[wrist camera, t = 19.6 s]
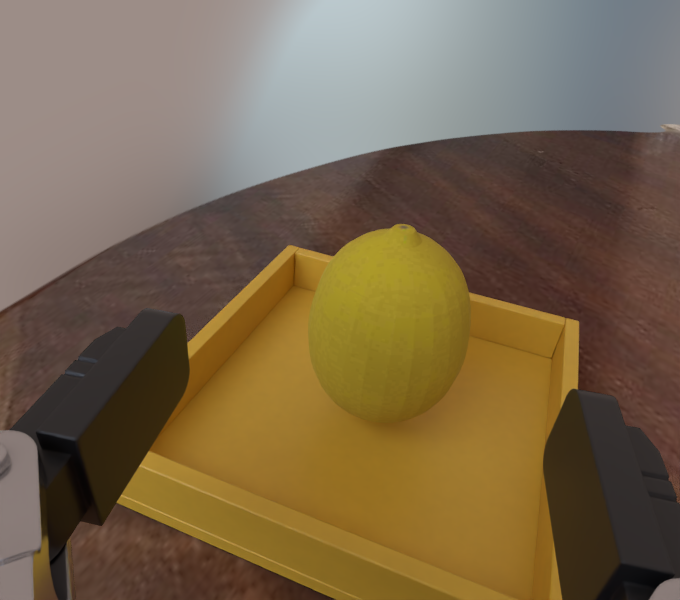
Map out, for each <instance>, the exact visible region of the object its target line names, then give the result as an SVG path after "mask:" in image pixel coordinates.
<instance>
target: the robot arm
mask: <svg viewBox="0 0 680 600" xmlns="http://www.w3.org/2000/svg"><path fill="white" fill-rule="evenodd" d="M189 375H190V365H189V356H188V346H187V337H186V327H185V320H184V318H183V316H182V315H181V314H177V313H172V312H166V311H161V310H156V309H150V308H146V309H144V310H142V311H141V312H140V313H139V314H138V315H137V317H136V318H135V319H134V320H133V321H132V322H131V323H130V325H129V326H128V327H127V328H122V327H116V328H114V329H112V330H111V331H109V332H107V333H105V334H104V335H102V336H100V337H98V338H97V339H95V340H94V341H93V342H92V343H91V344H90V345H89V346H88V347H87V348H86V349H85V350H84V351H83V352H82V353H81V355H80V356H79V358H78V360H75V361H74V362H73V363H72V364H71V365H70V366H69V367H68V368H67V369H66V370H65V374H64V375H63V374H62V375H61V376H60V377H59V378H58V379H57V380H56V381H55V382H54V383H53V384H52V385H51V386H50V388H49V389H48V390H47V391H46V392H45V393H44V394H43V395H42V396H41V397H40V398H39V399H38V400H37V401H36V402H35V403H34V405H33V406H32V407H31V408H30V409H29V410H28V411H27V412H26V413H25V414H24V415H23V416H22V417H21V418H20V419H19V420H18V422H17V423H16V424H15V425H14V426H13V427H12V428H11V429H10V430H3V431H0V600H76V591H75V580H74V569H73V558H72V547H71V541H70V536H71V534H72V533H73V531H74V530H75V528H76V527H77V525H78V524H79V522H80V521H83V522H87V523H91V524H95V525H99V526H102V525H103V523H104V522H105V520H106V518H107V517H108V515H109V514H110V512H111V510H112V509H113V507H114V506H115V504H116V502H117V501H118V499H119V498H120V496H121V495H122V493H123V491H124V490H125V488H126V487H127V485H128V483H129V482H130V480H131V479H132V477H133V475H134V474H135V472H136V471H137V469H138V467H139V466H140V464H141V463H142V461H143V459H144V458H145V456H146V455H147V453H148V451H149V450H150V448H151V447H152V445H153V443H154V442H155V440H156V439H157V437H158V435H159V434H160V432H161V431H162V429H163V427H164V426H165V424H166V423H167V421H168V419H169V418H170V416H171V415H172V413H173V411H174V410H175V408H176V407H177V405H178V403H179V402H180V400H181V399H182V397H183V395H184V393H185V391H186V388H187V385H188V381H189ZM543 473H544V480H545V487H546V494H547V500H548V507H549V514H550V520H551V527H552V534H553V541H554V547H555V554H556V561H557V567H558V574H559V581H560V588H561V594H562V600H680V504H679V503H678V502H676V499H677V496H676V494H675V491H674V488H673V486H672V483H671V482H670V481H669V480H668V478H669V475H668V473H667V470H666V468H665V465H664V462H663V460H662V457H661V455H660V452H659V451H658V449H657V448H656V447H655V446H654V445H653V443H652V442H651V441H650V440H649V439H648V437H647V436H646V435H645V434H644V433H643V432H642V430H641V429H640V428H636V427H631V426H626V425H625V423H624V420H623V417H622V414H621V411H620V408H619V405H618V402H617V400H616V398H615V397H614V396H611V395H606V394H600V393H595V392H589V391H584V390H579V389H571V390H570V391H569V392H568V394H567V396H566V398H565V400H564V403H563V405H562V407H561V410H560V412H559V414H558V416H557V419H556V421H555V423H554V425H553V428H552V430H551V432H550V434H549V437H548V439H547V442H546V445H545V449H544V456H543Z"/></svg>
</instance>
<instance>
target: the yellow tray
mask: <svg viewBox="0 0 680 600" xmlns="http://www.w3.org/2000/svg"><path fill="white" fill-rule="evenodd" d="M332 258H333V256H329V255H325V254H321V253H317V252H314V251H310V250H306V249H302V248H299V247H295V246H292V245H289V246H288V247H286V248H285V249H284V250H283V251H282V252H281V253H280V254H279V255H278V256H277V257H276V258H275V259H274V260H273V261H272V262H271V263H270V264H269V265H268V266H267V267H266V268H265V269H264V270H263V271H262V272H261V273H260V274H259V275H258V276H257V277H255V278H254V279H253V280H252V281H251V282H250V283H249V284H248V285H247V286H246V287H245V288H244V289H243V290H242V291H241V292H240V293H239V294H238V295H237V296H236V297H235V298H234V299H233V300H232V301H231V302H230V303H229V304H228V305H227V306H226V307H224V308H223V309H222V310H221V311H220V312H219V313H218V314H217V315H216V316H215V317H214V318H213V319H212V320H211V321H210V322H209V323H208V324H207V325H206V326H205V327H204V328H203V329H202V330H201V331H200V332H199V333H198V334H197V335H196V336H195V337H194V338H192V339H191V340H190V341H189V342H188V343H187V346H188V356H189V365H190V375H189V381H188V385H187V388H186V391H185V393H184V395H183V397H182V399H181V400H180V402H179V403H178V405H177V407H176V408H175V410H174V411H173V413H172V415H171V416H170V418H169V419H168V421H167V423H166V424H165V426H164V427H163V429H162V431H161V432H160V434H159V435H158V437H157V439H156V440H155V442H154V443H153V445H152V447H151V448H150V450H149V451H148V453H147V455H146V456H145V458H144V459H143V461H142V463H141V464H140V466H139V467H138V469H137V471H136V472H135V474H134V475H133V477H132V479H131V480H130V482H129V483H128V485H127V487H126V488H125V490H124V491H123V493H122V495H121V496H120V498H119V499H118V501H117V502H116V503H118V504H121V505H123V506H125V507H127V508H130V509H132V510H134V511H136V512H139V513H141V514H143V515H145V516H148V517H150V518H152V519H154V520H157V521H159V522H161V523H164V524H166V525H168V526H170V527H173V528H175V529H177V530H179V531H182V532H184V533H186V534H188V535H191V536H193V537H195V538H198V539H200V540H202V541H204V542H207V543H209V544H211V545H213V546H216V547H218V548H220V549H222V550H225V551H227V552H229V553H231V554H234V555H236V556H238V557H241V558H243V559H245V560H247V561H250V562H252V563H254V564H256V565H259V566H261V567H263V568H265V569H268V570H270V571H272V572H274V573H277V574H279V575H281V576H284V577H286V578H288V579H290V580H293V581H295V582H297V583H299V584H302V585H304V586H306V587H308V588H311V589H313V590H315V591H318V592H320V593H322V594H324V595H327V596H329V597H331V598H333V599H336V600H562V594H561V588H560V581H559V574H558V567H557V561H556V554H555V547H554V541H553V534H552V527H551V520H550V514H549V507H548V500H547V494H546V487H545V480H544V473H543V456H544V449H545V445H546V442H547V439H548V437H549V434H550V432H551V430H552V428H553V425H554V423H555V421H556V419H557V416H558V414H559V412H560V410H561V407H562V405H563V403H564V400H565V398H566V396H567V394H568V392H569V391H570V390H571V389H578V364H579V322H578V321H575V320H572V319H568V318H566V319H565V318H564V317H560V316H557V315H553V314H549V313H545V312H541V311H538V310H534V309H530V308H526V307H522V306H519V305H515V304H511V303H507V302H503V301H500V300H496V299H492V298H488V297H484V296H481V295H477V294H473V293H469V297H470V305H471V326H470V334H469V341H468V347H467V352H466V356H465V359H464V363H463V365H462V368H461V370H460V372H459V374H458V376H457V377H456V379H455V381H454V382H453V384H452V386H451V387H450V389H449V390H448V392H447V393H446V395H445V396H444V397H443V398H442V399H441V400H440V401H439V402H438V403H437V404H435V405H434V406H433V407H432V408H430V409H429V410H428V411H426V412H425V413H423V414H421V415H418V416H416V417H414V418H411V419H408V420H406V421H400V422H394V423H378V422H373V421H368V420H364V419H361V418H359V417H356V416H354V415H352V414H349V413H348V412H347V411H345V410H344V409H342V408H341V407H339V406H338V405H337V404H336V403H335V402H334V401H333V400H332V399H331V398H330V397H329V396H328V394H327V393H326V392H325V391H324V389H323V388H322V386H321V384H320V382H319V380H318V378H317V376H316V373H315V371H314V369H313V366H312V363H311V358H310V352H309V339H308V321H309V314H310V309H311V305H312V301H313V298H314V295H315V292H316V289H317V287H318V284H319V281H320V279H321V276H322V274H323V272H324V270H325V268H326V266H327V265H328V263H329V262H330V261H331V259H332Z"/></svg>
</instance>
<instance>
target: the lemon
mask: <svg viewBox="0 0 680 600" xmlns="http://www.w3.org/2000/svg"><path fill="white" fill-rule="evenodd" d="M470 326H471V305H470V297H469V292H468V288H467V285H466V281H465V278H464V276H463V273H462V271H461V269H460V268H459V266H458V265H457V263H456V262H455V260H454V259H453V258H452V257H451V255H450V254H449V253H448V252H447V251H446V250H445V249H444V248H443V247H441V246H440V245H439V244H438V243H436V242H435V241H433V240H432V239H430V238H429V237H427V236H425V235H422V234H420V233H417V232H416V230H415V229H414V228H413V227H412V226H410V225H406V224H397V225H395V226H393V227H392V228H391V229H382V230H376V231H373V232H370V233H367V234H364V235H362V236H360V237H358V238H356V239H355V240H353V241H351V242H349V243H348V244H347V245H345V246H344V247H343V248H341V250H340V251H339V252H338V253H337V254H336V255H335V256H334V257H333V258H332V259H331V261H330V262H329V263H328V265H327V266H326V268H325V270H324V272H323V274H322V276H321V279H320V281H319V284H318V287H317V289H316V292H315V295H314V298H313V301H312V305H311V309H310V314H309V321H308V339H309V352H310V358H311V363H312V366H313V369H314V371H315V373H316V376H317V378H318V380H319V382H320V384H321V386H322V388H323V389H324V391H325V392H326V393H327V394H328V396H329V397H330V398H331V399H332V400H333V401H334V402H335V403H336V404H337V405H338V406H339V407H341V408H342V409H344V410H345V411H347V412H348V413H349V414H352V415H354V416H356V417H359V418H361V419H364V420H368V421H373V422H378V423H394V422H400V421H406V420H408V419H411V418H414V417H416V416H418V415H421V414H423V413H425V412H426V411H428V410H429V409H430V408H432V407H433V406H434V405H435V404H437V403H438V402H439V401H440V400H441V399H442V398H443V397H444V396H445V395H446V393H447V392H448V390H449V389H450V387H451V386H452V384H453V382H454V381H455V379H456V377H457V376H458V374H459V372H460V370H461V368H462V365H463V363H464V359H465V356H466V352H467V347H468V341H469V334H470Z"/></svg>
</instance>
